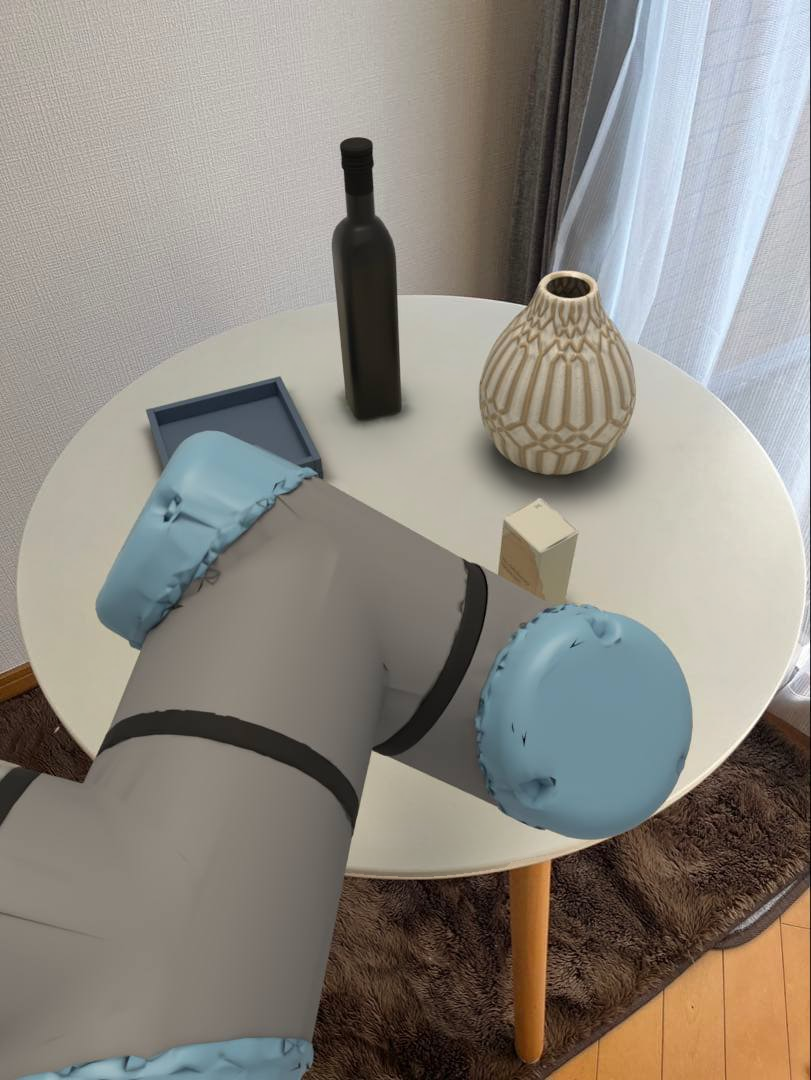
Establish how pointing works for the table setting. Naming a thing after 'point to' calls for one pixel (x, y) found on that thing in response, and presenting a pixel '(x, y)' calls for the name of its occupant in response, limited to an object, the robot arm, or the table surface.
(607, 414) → the vase
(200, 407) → the cup tray
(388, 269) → the wine bottle
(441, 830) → the table surface
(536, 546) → the box
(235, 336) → the table surface
